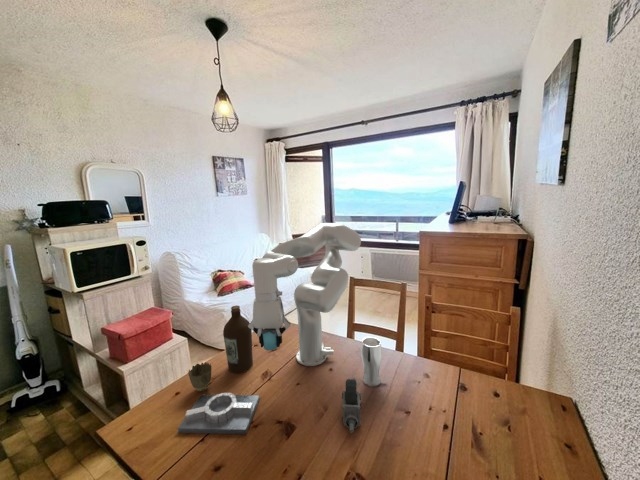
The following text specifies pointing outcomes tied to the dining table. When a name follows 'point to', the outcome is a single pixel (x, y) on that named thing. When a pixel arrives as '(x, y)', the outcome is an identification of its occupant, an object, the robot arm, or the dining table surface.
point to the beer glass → (371, 360)
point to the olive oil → (238, 342)
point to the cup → (200, 376)
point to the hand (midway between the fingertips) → (271, 344)
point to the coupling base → (224, 426)
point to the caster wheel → (351, 406)
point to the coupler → (269, 339)
